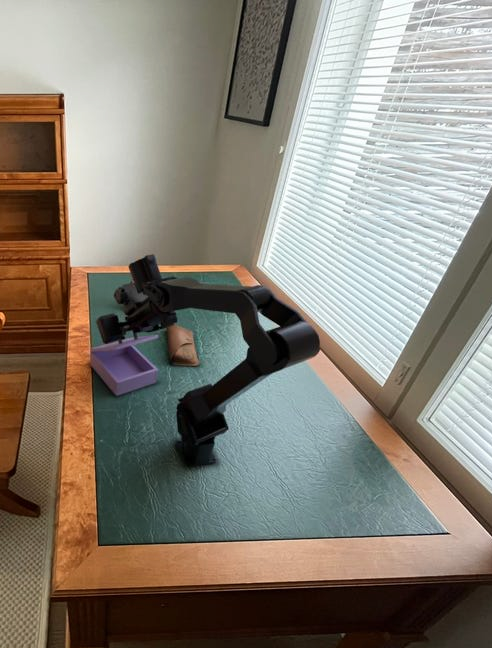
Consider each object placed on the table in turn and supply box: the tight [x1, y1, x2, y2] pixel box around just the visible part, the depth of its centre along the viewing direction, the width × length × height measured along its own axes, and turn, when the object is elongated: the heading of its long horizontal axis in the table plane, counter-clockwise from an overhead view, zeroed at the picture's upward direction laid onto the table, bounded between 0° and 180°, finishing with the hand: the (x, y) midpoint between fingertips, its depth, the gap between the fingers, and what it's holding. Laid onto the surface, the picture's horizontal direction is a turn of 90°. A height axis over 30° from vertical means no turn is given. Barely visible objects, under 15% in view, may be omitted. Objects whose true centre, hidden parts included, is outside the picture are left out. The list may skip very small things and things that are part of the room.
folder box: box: [89, 345, 159, 397], centre depth 101 cm, size 15×12×4 cm
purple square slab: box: [89, 326, 159, 352], centre depth 98 cm, size 15×12×5 cm
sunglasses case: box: [166, 323, 200, 367], centre depth 112 cm, size 18×7×7 cm, turn 176°
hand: (122, 332), depth 96 cm, fingers closed on purple square slab, 5 cm apart
